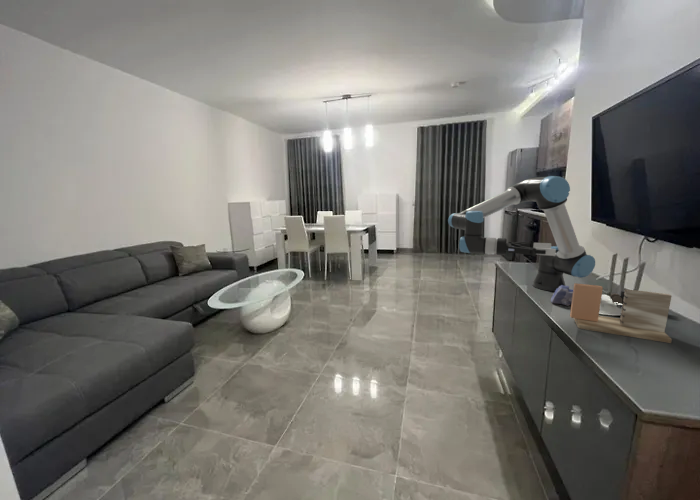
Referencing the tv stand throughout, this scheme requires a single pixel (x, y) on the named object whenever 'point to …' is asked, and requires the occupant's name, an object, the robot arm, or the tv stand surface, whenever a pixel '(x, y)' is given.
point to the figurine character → (617, 297)
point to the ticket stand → (636, 317)
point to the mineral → (562, 295)
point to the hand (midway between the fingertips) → (553, 249)
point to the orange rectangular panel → (586, 302)
